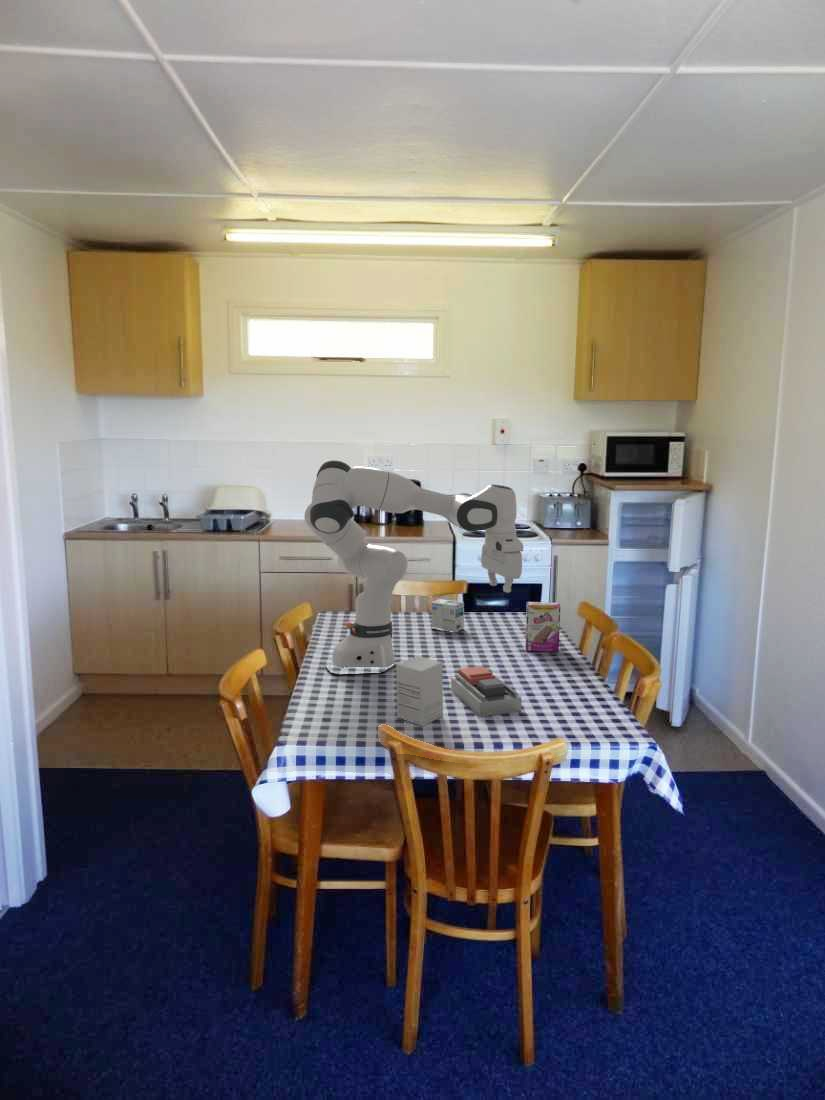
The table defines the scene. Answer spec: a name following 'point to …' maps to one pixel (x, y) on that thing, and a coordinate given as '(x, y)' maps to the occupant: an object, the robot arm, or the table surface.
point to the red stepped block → (475, 674)
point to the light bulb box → (447, 614)
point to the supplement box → (420, 690)
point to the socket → (483, 704)
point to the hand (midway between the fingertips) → (500, 588)
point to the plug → (491, 687)
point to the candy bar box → (542, 627)
